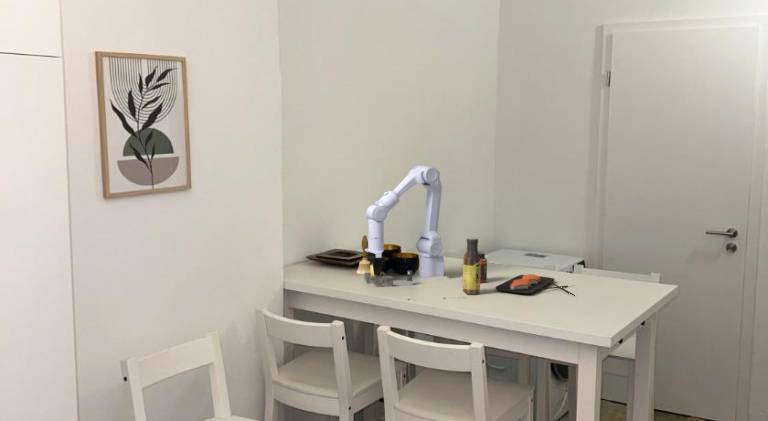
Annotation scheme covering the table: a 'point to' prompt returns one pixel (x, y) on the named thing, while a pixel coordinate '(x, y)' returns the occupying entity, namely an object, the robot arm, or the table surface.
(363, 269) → the hand bell
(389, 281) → the dock
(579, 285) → the table surface
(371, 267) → the yellow cylinder
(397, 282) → the lock pin
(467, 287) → the sauce bottle
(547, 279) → the sushi plate
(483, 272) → the supplement bottle
